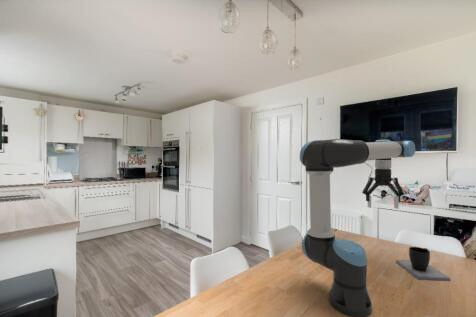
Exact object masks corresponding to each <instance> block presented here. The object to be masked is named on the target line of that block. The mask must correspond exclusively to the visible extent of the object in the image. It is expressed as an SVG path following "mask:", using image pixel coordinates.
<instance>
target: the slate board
mask: <svg viewBox="0 0 476 317" xmlns="http://www.w3.org/2000/svg"><path fill="white" fill-rule="evenodd" d="M395 263H396V265H397V264H398V265H399V266H400V267H401V268H402V269H404V270H405V271H406V272H407V273H409V274H410V275H411V276H413V277H414V278H415V279H416V280H418V281H419V280H421V281H422V280H425V281H441V282H442V281H446V282H450V281H451V277H450V276H447V275H446V274H445V273H443V272H441V271H440V270H438V269H436V268H435V267H434V266H432V265H430V264H428V267H427V270H426V271H418V270H415V269H413V268H412V264H411V261H410V260H401V259H395Z"/></svg>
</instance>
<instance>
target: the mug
mask: <svg viewBox="0 0 476 317" xmlns="http://www.w3.org/2000/svg"><path fill="white" fill-rule="evenodd" d="M430 252H431V251H430V250H429V249H428V248H423V247H417V246H410V247H409V248H408V254H409V255H408V256H409V261H411V264H412V268H413V269H415V270H418V271H426V270H427V267H428V265H430V260H431V253H430Z"/></svg>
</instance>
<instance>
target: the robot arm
mask: <svg viewBox="0 0 476 317" xmlns="http://www.w3.org/2000/svg"><path fill="white" fill-rule="evenodd" d="M415 154H416V145H415V142H414V141H412V140H399V141H398V140H397V141H392V140H390V139H377V140H375V141H374V142H372V141H370V142H365V141H363V140H361V139H360V140H357V139H356V140H352V139H341V138H332V139H320V140H316V139H315V140H311V141H308V142H306V143H305V144H304V145H303V146H302V147H301V149H300V152H299V161H300V163H301V164H302V166H304V167H305V172H306V173H307V174H308V177H309V185H308V187H309V218H310V219H309V220H310V224H309V225H310V228H309V229H308V230H307V231H306V234H305V235H304V236H303V239H302V241H301V249H302V252H303V254H304V256H305V257H306V258H307V259H309V260H310V261H312V262H313V263H315V264H316V263H317V264H318V265H320V266H322V267H325V268H326V269H328V270H330V271H333V273H332V275H333V278H332V279H333V280H332V281H333V282H332V284H331V287H330V288H329V293H328V302H329V304H330V306H331V307H332V308H334V309H335V310H336V311H338V312H340V313H342V314H344V315H347V316H350V317H367V316H370V315H371V314H372V312H373V304H372V300H371V297H370V294H369V291H368V289H367V267H368V266H367V264H368V258H367V252H366V250H365V248H364V246H362V245H361V244H359V243H358V242H355V241H353V240H349V239H348V240H347V239H345V238H338V239H336V234H335V232H334V231H333V230H332V216H331V215H332V214H331V211H332V210H331V174H332V173H333V172H334V168H344V167H350V166H354V165H355V166H356V165H361V164H364V163H366V162H367V161H374V167H375V169H374V177H372V176H370V177H369V176H368V180H367V182H366V185H365V186H364V188H363V190H362V192H361V193H362V194H363V195H365V201H366V202H367V208H369V209H371V208H372V195H371V194H372V193H373V192H374V191H375V190H376V189H377V188H378V187H379V186H380V187H383V186H384V187H388V188H389V189H390V190H391V191H392V192H393V194H395V195H394V197H393V198H394V199H393V200H394V202H393V203H394V205H393V208H394V209H397V210H398V209H400V208H399V203H400V202H401V197H402V196H404V195H405V193H404V190H403V189H402V186H401V185H400V183H399V178H398V177H392V159H394V158H412V157H413V156H414V155H415ZM373 182H374V183H373ZM392 182H393V184H392Z"/></svg>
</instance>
